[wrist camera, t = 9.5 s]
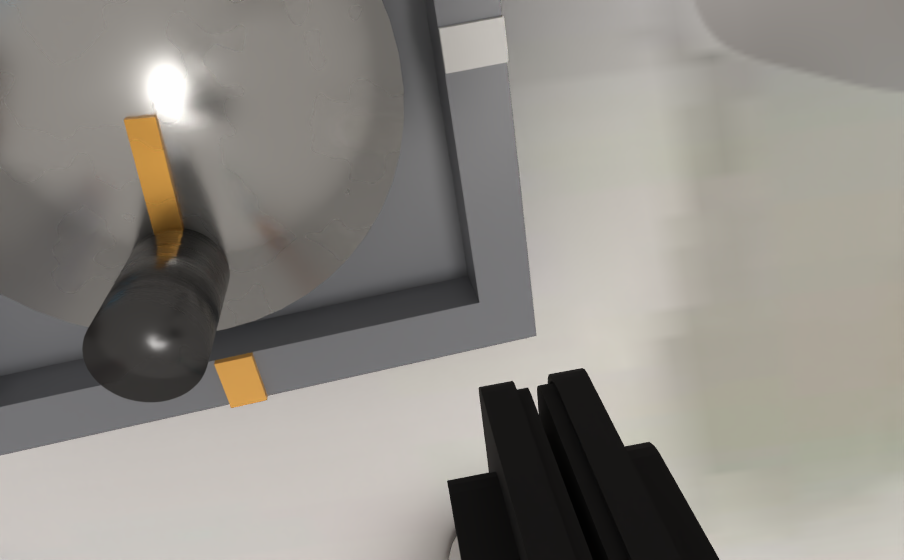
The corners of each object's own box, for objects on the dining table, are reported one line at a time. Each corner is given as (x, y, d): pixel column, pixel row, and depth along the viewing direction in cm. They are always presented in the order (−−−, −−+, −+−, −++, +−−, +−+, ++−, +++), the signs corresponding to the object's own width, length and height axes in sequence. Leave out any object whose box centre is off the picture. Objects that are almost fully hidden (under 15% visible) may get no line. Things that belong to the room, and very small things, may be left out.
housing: (-431, -278, 16) (-613, -327, 13) (429, -395, 17) (453, -463, 14) (-15, 407, 25) (-61, 473, 22) (513, 292, 27) (538, 339, 24)
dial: (374, -208, 17) (400, -272, 12) (412, 279, 24) (441, 389, 18) (-240, -194, 16) (-560, -262, 10) (-18, 328, 22) (-135, 468, 16)
